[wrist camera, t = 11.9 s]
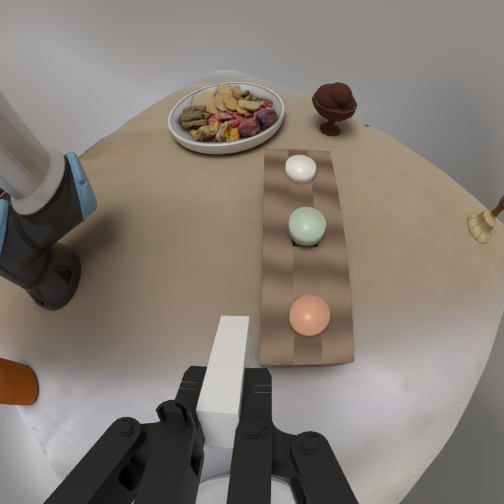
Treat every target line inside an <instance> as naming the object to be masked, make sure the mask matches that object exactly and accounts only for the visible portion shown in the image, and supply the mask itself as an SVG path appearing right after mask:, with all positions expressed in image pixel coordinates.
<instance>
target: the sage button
mask: <svg viewBox="0 0 504 504" xmlns="http://www.w3.org/2000/svg"><path fill="white" fill-rule="evenodd" d="M325 228H326V220H325V218H324V216H323V215H322V213H321V212H319V211H318V210H316V209H314V208H311V207H301V208H298V209H296V210H295V211H294V212H293V213H292V214H291V216H290V218H289V226H288V232H289V235H290V237H291V238H292V240H293V246H296V247H315V245H316V243H318V242H319V241H320V240H321V239H322V237H323V234H324V231H325Z"/></svg>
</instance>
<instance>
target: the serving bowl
mask: <svg viewBox="0 0 504 504" xmlns="http://www.w3.org/2000/svg"><path fill="white" fill-rule="evenodd" d="M229 478H230V474H225V475H220V476H216V477H213V478H210V479H207V480H205V481H203V482H201V483H199V488H198V493H197V498H196V504H226V502H227V494H228V486H229ZM271 504H295V501H294V498H293V495H292V492H291V489H290V486H289V484H288V483H287V482H285V481H282V480H280V479H277V478H274V477H271Z"/></svg>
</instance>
